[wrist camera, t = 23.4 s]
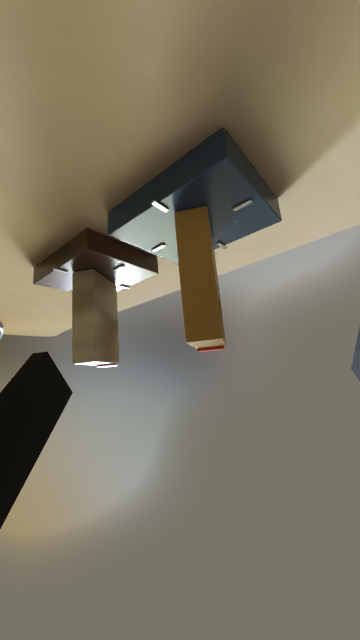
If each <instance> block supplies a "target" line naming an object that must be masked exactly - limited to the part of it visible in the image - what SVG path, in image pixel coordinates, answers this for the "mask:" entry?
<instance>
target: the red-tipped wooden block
mask: <svg viewBox="0 0 360 640" xmlns="http://www.w3.org/2000/svg"><path fill="white" fill-rule="evenodd" d="M174 220H175V231H176V242H177V252H178V263H179V274H180V285H181V295H182V306H183V317H184V328H185V338H186V343H188V344H190V345H191V346H193V347H195V348H196V349H197V350H198V352H206V351H215V350H224V347H225V346H226V341H225V333H224V326H223V318H222V309H221V301H220V293H219V285H218V278H217V269H216V261H215V253H214V245H213V239H212V233H211V227H210V221H209V216H208V210H207V206H201V207H196V208H191V209H187V210H182V211H177V212H174Z"/></svg>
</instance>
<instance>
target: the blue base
mask: <svg viewBox="0 0 360 640" xmlns="http://www.w3.org/2000/svg"><path fill="white" fill-rule="evenodd" d="M201 206H207V210H208V216H209V221H210V227H211V233H212V239H213V245H214V249H217V248H219V247H221V248H223V249H226V248H227V246H225V245H226V244H228V243H231V242H233V241H235V240H238V239H240V238H243V237H245V236H247V235H250V234H252V233H254V232H257V231H259V230H261V229H264V228H266V227H268V226H271V225H273V224H275V223H278V222H280V221H282V219H281V214H280V208H279V203H278V199H277V198H276V197H275V195H274V194H273V193H272V191H271V190H270V189H269V187H268V186H267V185H266V183H265V182H264V181H263V179H262V178H261V177H260V175H259V174H258V173H257V171H256V170H255V169H254V167H253V166H252V165H251V163H250V162H249V161H248V159H247V158H246V157H245V155H244V154H243V153H242V151H241V150H240V149H239V147H238V146H237V145H236V143H235V142H234V141H233V139H232V138H231V137H230V135H229V134H228V133H227V131H226V130H225V129H224V128H222V129H220V130H219V131H218V132H216V133H215V134H214V135H212V136H211V137H210V138H208V139H207V140H206V141H204V142H203V143H202V144H200V145H199V146H198V147H196V148H195V149H194V150H192V151H191V152H189V153H188V154H187V155H185V156H184V157H183V158H181V159H180V160H179V161H177V162H176V163H175V164H173V165H172V166H171V167H169V168H168V169H167V170H165V171H164V172H163V173H161V174H160V175H158V176H157V177H156V178H154V179H153V180H152V181H150V182H149V183H148V184H146V185H145V186H144V187H142V188H141V189H140V190H138V191H137V192H136V193H134V194H133V195H132V196H130V197H129V198H127V199H126V200H125V201H123V202H122V203H121V204H119V205H118V206H117V207H115V208H114V209H113V210H111V211H110V212H109V213H108V235H110V236H112V237H115V238H117V239H120V240H122V241H124V242H127V243H129V244H131V245H134V246H136V247H138V248H141V249H143V250H145V251H148V252H150V253H152V254H155V255H157V256H159V257H162V258H164V259H166V260H169V261H171V262H173V263H176V264H178V265H179V263H178V252H177V242H176V231H175V220H174V212H177V211H182V210H187V209H191V208H196V207H201Z"/></svg>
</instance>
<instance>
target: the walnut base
mask: <svg viewBox="0 0 360 640" xmlns="http://www.w3.org/2000/svg"><path fill="white" fill-rule="evenodd" d="M89 269H94V270H96V271H97V272H98V273H100V274H101V275H102V276H104V277H105V278H107V279H108V280H109V281H111V282H112V283H113V284H115V285H116V291H119V290H121V289H123V288H126V289H130V287H128V286H130V285H133V284H135V283H137V282H140V281H142V280H144V279H147V278H149V277H152V276H154V275H156V274H158V263H157V257H154V256H152V255H150V254H147V253H145V252H142V251H140V250H138V249H135V248H133V247H130V246H128V245H126V244H123V243H121V242H118V241H116V240H114V239H111V238H109V237H106V236H104V235H102V234H99V233H97V232H94V231H92V230H90V229H85V230H84V231H83V232H81V233H80V234H79V235H77V236H76V237H75V238H73V239H72V240H71V241H69V242H68V243H67V244H65V245H64V246H63V247H61V248H60V249H59V250H57V251H56V252H55V253H53V254H52V255H50V256H49V257H48V258H46V259H45V260H44V261H42V262H41V263H40V264H38V265H37V266H36V267H34V280H33V284H36V285H41V286H46V287H51V288H56V289H61V290H66V291H71V292H72V273H73V272H77V271H83V270H89Z"/></svg>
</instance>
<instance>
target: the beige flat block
mask: <svg viewBox="0 0 360 640" xmlns="http://www.w3.org/2000/svg"><path fill="white" fill-rule="evenodd" d="M117 319H118V317H117V291H116V285H115V284H113V283H112V282H111V281H109V280H108V279H107V278H105V277H104V276H102V275H101V274H100V273H98V272H97V271H96V270H94V269H89V270H83V271H77V272H73V273H72V330H73V331H72V338H73V339H72V342H73V343H72V347H73V348H72V355H73V356H72V362H73V364H81V365H96V367H109V366H117V364H119V344H118V320H117Z"/></svg>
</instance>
